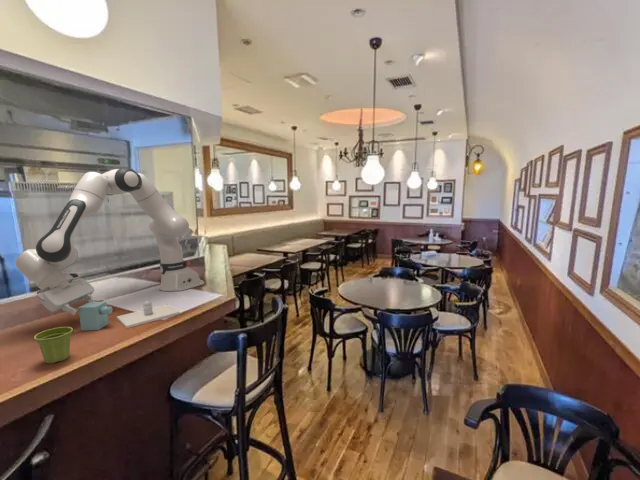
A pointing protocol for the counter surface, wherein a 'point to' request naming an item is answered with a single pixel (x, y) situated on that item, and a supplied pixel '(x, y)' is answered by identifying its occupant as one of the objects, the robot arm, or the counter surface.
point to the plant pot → (54, 343)
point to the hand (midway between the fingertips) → (85, 308)
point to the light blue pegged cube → (94, 315)
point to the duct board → (147, 315)
